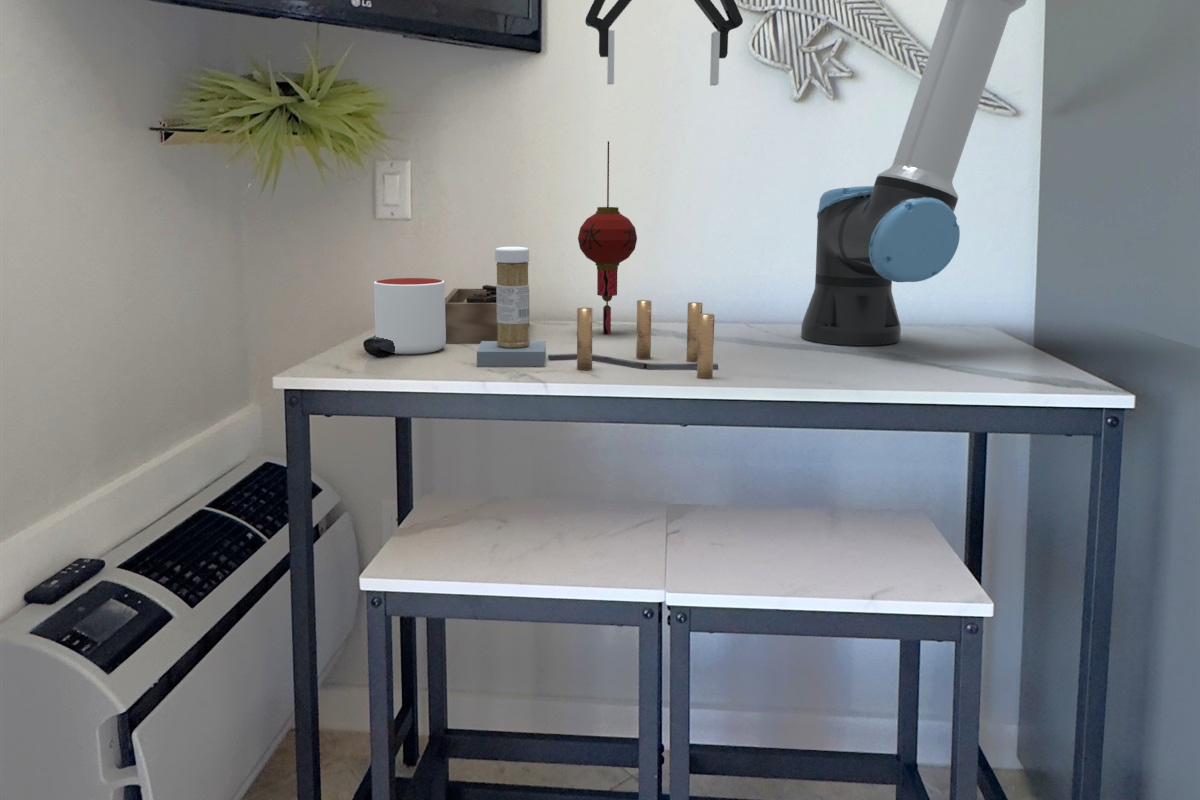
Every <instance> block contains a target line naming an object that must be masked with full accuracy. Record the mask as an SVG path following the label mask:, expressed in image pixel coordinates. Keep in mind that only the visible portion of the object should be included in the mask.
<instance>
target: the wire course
mask: <svg viewBox="0 0 1200 800" xmlns="http://www.w3.org/2000/svg"><path fill="white" fill-rule="evenodd" d="M686 319H687V323H686V324H687V325H686V357H685V358H686V362H690V363H673V362H672V363H665V362H664V363H663V362H662V363H659V362H658V363H655V362H653V363H648V362H642V361H635V360H628V359H623V358H616V357H611V356H604V355H598V354H593V307H578V308H576V335H577V336H576V353H557V354H555V353H554V354H553V353H552V354H551V353H550V354H548V355H547V357H548V358H547V360H549V361H557V360H558V361H560V360H561V361H562V360H564V361H565V360H576V370H578V371H589V370H591V371H592V369H593V362H600V363H606V364H613V365H617V366H623V367H630V368H636V369H640V370H641V369H642V370H696V378H698V379H706V380H707V379H713V377H714V376H713V375H714V370H719V363H714V345H715V343H714V342H715V341H714V340H715V339H714V337H715V314H714V313H703V302H699V301H690V302H689V301H688V302H687V318H686ZM651 342H652V300H649V299H648V300H647V299H639V300H636V345H635V347H636V348H635V349H636V357H635V358H636V359H638V360H649V359H651V355H652V354H651V346H652V345H651V344H652V343H651Z"/></svg>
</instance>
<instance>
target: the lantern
mask: <svg viewBox="0 0 1200 800" xmlns="http://www.w3.org/2000/svg"><path fill="white" fill-rule="evenodd" d="M606 173H607V174H606V175H607V178H606V179H607V181H606V183H607V184H606V185H607V187H606V188H607V189H606V190H607V191H606V194H607V195H606V196H607V197H606V206H598V207H596V209H597V210H596V211H595V213H594V214H592V215H590V216H589V217H587V218H586V220H585V221H583V224H582V225H581V226H580V228H579V230H578V236H577V239H578V240H577V241H578V245H579V249H580V250H581V252H582V253H583V255H584V256H585V257H586V258H587V259H588V260H590V261H592V262H593V263H595V266H596V271H597V272H596V273H597V276H596V277H597V278H596V279H597V283H596V285H597V289H596V290H597V291H596V293H597V294H596V295H597V296H600V297H601V299H602V300H603V301H604V302H606V303H605V305H604V306H603V308H602V309H603V312H602V314H603V316H602V317H603V318H602V325H603V327H602V334H603V335H611V332H612V331H611V329H612V328H611V327H612V326H611V325H612V323H611V321H612V319H611V317H612V314H611V313H612V307H611V306H610V305H609V302H610V301H612V299H613V297H616V296H618V270H619V266H620V263H621V262H624V261H626V260H627V259H629V258H630V256H631V255H632V254H633V253H634V251H635V249H636V246H637V241H638V235H637V231H636V227H635V226H634V224H633V223H632V221H631V220H630V218H628V217H627V216H625V215H623V214H622V213H621V212H620V211H619V206H616V207H615V206H610V203H609V201H610V195H609V194H610V192H609V191H610V141H609V140H608V141H607V172H606Z"/></svg>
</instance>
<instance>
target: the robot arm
mask: <svg viewBox="0 0 1200 800" xmlns="http://www.w3.org/2000/svg"><path fill="white" fill-rule="evenodd" d="M632 1H633V0H617V1H616V2H615V3H614V5H613V6H612V7H611V8H610V9H609V11H608V12H607V13H606V15H604V17H603V18H601V17H599V14H600V12H601V11H602V8H603V6H604V5H605V2H606V0H593V2H592V4H591V6H590V8H589V11H588V12H587V15H586V16H585V19H584V20H585V25H586V26H587V27H591V28H593V29H595V30H597V32H598V54H599V56H600V58H607V67H606V68H607V69H606V70H607V79H606V80H607V81H606V83H607V85H614V84H615V30H614V29H613V30H612V29H611V30H610V27H611V26H612V25H613V24H614V23H615V21H616V20H617V19H618V18H619V16H620V15H621V14H622V13H623V11H624V10H625V9H626V8H627V7H628V6H629V4H630V3H631V2H632ZM694 2H695V4H696V5H697V6H698V7H699V9H700V10H701V11H702V13H703V14H704V15H705V17H706V18H707V19H708V21H709V22H710V23H711V24H712V25H713V27H714V29H715V30H716V31H713V32H711V36H710V42H711V43H710V69H709V71H710V76H709V86H717V85H719V83H720V82H719V81H720V78H719V77H720V59H726V58H727V56H728V52H729V50H728V47H729V45H728V44H729V32H730V31H731V30H735V29H739V27H741V25H742V24H743V23H744V19H743V17H742V15H741V12H740V10H739V8H738V5H737V4H736V1H735V0H720V4H721V6H722V7H723V8H722V9H723V10H724V12H725V16H726V17H727V20H726V19H725V17H724V16H723V15H722V13H721V12H720V11H719V10H718V8H717V7H716V5H715V4H714V2H713V1H712V0H694ZM1026 3H1027V0H947V1H946V3H945V6H944V9H943V12H942V15H941V18H940V21H939V24H938V27H937V30H936V33H935V37H934V39H933V42H932V45H931V48H930V51H929V54H928V57H927V60H926V63H925V66H924V70H923V71H922V72H923V73H922V75H921V79H920V82H919V84H918V87H917V89H916V94H915V97H914V99H913V103H912V105H911V109H910V111H909V114H908V118H907V120H906V123H905V125H904V129H903V132H902V135H901V139H900V142H899V144H898V147H897V150H896V153H895V157H894V159H893V163H892V164H891V166H890V167H889V168H887V169H886V170H884V171H882V172H881V173H878V174H877V176H876V178H875V182H874V184H873V185H870V186H869V185H868V186H867V185H866V186H850V187H839V188H833V189H829V190H826V191H825V192H824V193H822V194H821V196H820V198H819V205H818V211H817V213H816V219H817V229H816V230H817V231H816V232H817V233H816V255H815V256H816V257H815V279H814V289H813V293H812V295H811V297H810V300H809V302H808V306H807V308H806V311H805V314H804V317H803V319H802V322H801V334H800V337H801V338H803V339H805V340H807V341H811V342H816V343H822V344H829V345H830V344H831V345H844V346H880V345H881V346H883V345H890V344H894V343H898V342H900V340H901V330H902V328H901V327H902V326H901V322H900V318H899V315H898V311H897V308H896V304H895V300H894V296H893V292H892V289H893V287H892V283H893V282H895V283H916V282H917V283H918V282H922V281H926V280H928V279H931V278H933V277H934V276H936V275H938V274H939V273H941V272H942V271H943V270H944V269H945V268H946V267H947V266H948V265H949V264H950V262H951V261H952V260H953V258H954V256H955V254H956V252H957V249H958V247H959V242H960V237H961V234H960V233H961V232H960V231H961V230H960V225H959V224H958V221H957V216H956V214H955V210H956V206H957V203H958V202H959V201H958V200H959V194H958V193H957V191H956V189H955V188H954V185H953V182H954V181H953V180H954V177H955V174H956V172H957V168H958V166H959V164H960V160H961V157H962V154H963V151H964V148H965V146H966V143H967V139H968V138H969V137H968V136H969V133H970V132H971V128H972V125H973V122H974V119H975V116H976V114H977V110H978V108H979V105H980V102H981V99H982V96H983V93H984V90H985V87H986V85H987V81H988V79H989V75H990V72H991V70H992V67H993V63H994V61H995V59H996V55H997V52H998V49H999V46H1000V43H1001V41H1002V37H1003V35H1004V32H1005V29H1006V26H1007V23H1008V20H1009V17H1010V15H1011V14H1012V13H1013V12H1015V11H1017V10H1019V9H1020V8H1023V7H1024V6H1025V5H1026Z"/></svg>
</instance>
